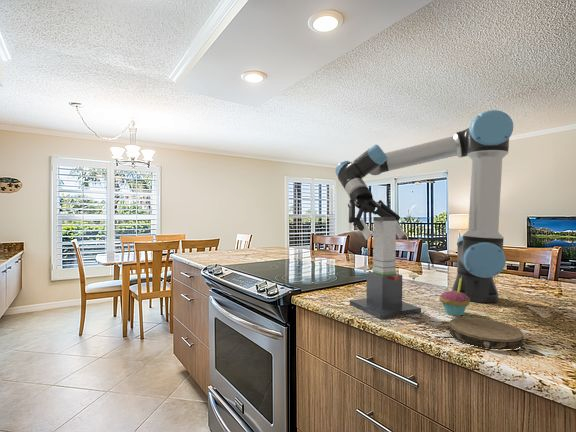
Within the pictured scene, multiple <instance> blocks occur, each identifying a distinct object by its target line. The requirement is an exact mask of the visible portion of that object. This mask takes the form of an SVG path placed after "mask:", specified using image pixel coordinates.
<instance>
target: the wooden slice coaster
mask: <svg viewBox="0 0 576 432" xmlns="http://www.w3.org/2000/svg"><path fill="white" fill-rule="evenodd" d="M450 334H451V335H452V336H453V337H454V338H456V339H457V340H456V339H455V340H456V341H458V340H459V341H461V342H460V343H462V342H464V343H467V344H470V345H474V346H478V347H482V348H489V349H516V348H519V347H522V346H523V347H524V333H523V331H522V330H520V328H517V327H516V326H514V325H511V324H508V323H505V322H501V321H498V320H494V319H490V318H482V317H473V316H472V317H470V316H465V317H462V316H459V317H455V318H452V319H450V320H449V335H450ZM451 335H450V336H451ZM452 336H451V337H452ZM453 337H452V338H453ZM454 338H453V339H454ZM459 341H458V342H459ZM464 343H463V344H464ZM467 344H466V345H467ZM470 345H469V346H470ZM523 347H522V348H523Z"/></svg>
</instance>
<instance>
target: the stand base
mask: <svg viewBox="0 0 576 432" xmlns="http://www.w3.org/2000/svg"><path fill="white" fill-rule="evenodd" d="M349 306H352V307H354V308H356V309H357V310H361V311H362V312H365V313H366V314H367V315H368V314H369V315H371V316H373V317H374V318H377V319H379V318H380V319H379V320H381V319H382V318H383V319H387V318H389V317H390V318H394V317H403V316H408V315H414V314H420V313H422V308H421V307H420V306H417V305H414V304H411V303H408V302H405V301H403V274H400V273H396V275H388V276H381V275H378V274H374V273H373V271H370V272H366V298H360V299H357V298H356V299H351V300H349Z"/></svg>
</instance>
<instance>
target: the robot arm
mask: <svg viewBox="0 0 576 432" xmlns="http://www.w3.org/2000/svg"><path fill="white" fill-rule="evenodd" d="M513 131H514V121H513V119H512V118H511V116H510V115H509V114H507V113H506V112H505V111H503V110H498V109H491V110H486V111H483V112H481V113H479V114H478V115H476V117H474V118H473V119H472V120H471V122H470V125H469V127H467V128H465V129H464V130H460V131H457V132H454V134H453V135H451V136H448V137H443V138H440V139H435V140H433V141H428V142H423V143H421V144H415V145H412V146H407V147H403V148H401V149H396V150H392V151H388V152H384V150H383V149H382V147H380V146H379V144H374V145H373V146H371V147H369V148H368V149H367V150H366V151H364V152H362V153H361V154H360V155H359V156H358V157H356V158H355V159H353V161H349V160H344V161H341V162H339V163H338V164H337V165H336V168H335V174H336V176H337V179H338V181H339V182H340V184H341V186H342V187H343V189H344V191H345V192H346V194H347V195H348V198H350V200H349V201H348V203H347V207H348V223H349V224H352V225H353V226H354V227H357V229H358V230H359V231H360V232H361V234H362V235H363V237H364V240H366V241H367V240H368V241H369V239H370V237H372V236H373V235H372V234H373V233H371V230H370V229H369V227H368V225H367V223H366V222H365V220H364V219H362V216H363V213H366V214H368V213H369V214H373V215H377V216H378V217H396V236H397V237H398V240H399V239H400V240H401V239H403V237H404V236H405V234H406V232H405V231H404V230H403V228H402V225H401V224H400V222H399V221H400V219H401V216H400V215H398V213H396V212H395V211H394V210H392V208H390V207H389V206H387V205H386V204H385V203H384V202H383V200H381V199H379V200H378V201H376V200H374V197H373V192H371V190H370V189H369V188H368V185H367V184H366V183H365V181H364V180H363V179H364V178H365V177H366V176H367V175H372V176H378V175H381V174H382V173H385V172H386V173H387V172H390V171H395V170H400V169H403V168H409V167H412V166H417V165H422V164H426V163H430V162H435V161H438V160H439V161H440V160H442V159H443V160H444V159H448V158H452V157H458V158H461V159H462V158H464V157H468V158H469V159H471V176H470V193H469V194H470V196H469V214H468V216H469V217H468V229H467V230H466V232H464V233H463V234H462V235H460V236H458V237H457V243H456V246H457V250H456V251H457V253H456V254H457V255H456V256H457V258H456V261H457V262H456V263H457V264H456V265H457V266H456V269H457V270H456V272H457V273H456V277H455V280H454V283H453V285H452V289H451V291H458V285H459V279H460V278H461V276H462V282H461V287H460V292H462V293H464V294H466V295H467V296H468V297H469V298H470V302H473V303H485V304H486V303H488V304H489V303H490V304H491V303H496V302H499V299H500V298H499V292H498V289H497V285H496V282H495V280H494V277H495V276H498V275H499V274H501V272H502V271H503V270H504V269H505V268H506V264H507V259H506V253H505V251H504V236H503V235H502V234H501V233H500V232H499V224H500V208H501V207H500V206H501V191H502V189H501V187H502V172H503V171H502V170H503V158H505V157H506V156H507V155H509V147H510V146H509V145H510V137H511V136H512V134H513ZM356 208H357V209H358V211H357V215H356Z"/></svg>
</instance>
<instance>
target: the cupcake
mask: <svg viewBox="0 0 576 432" xmlns="http://www.w3.org/2000/svg"><path fill="white" fill-rule="evenodd" d="M461 282H462V276H461V278H460V279H459V285H458V291H452V290H447V291H445V292H442V293H441V294H440V295H439V298H438V301H439V302H441V303H442V305H443V306H444V310H445V313H446V314H447V315H449V314H450V316H453V315H456V316H455V317H462V316H463V315H464V313H465V311H466V309H467V306H469V305H471V301H470V298H469V297H468V296H467V295H466V294H464V293H462V292H460V287H461ZM461 315H462V316H461Z"/></svg>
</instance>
